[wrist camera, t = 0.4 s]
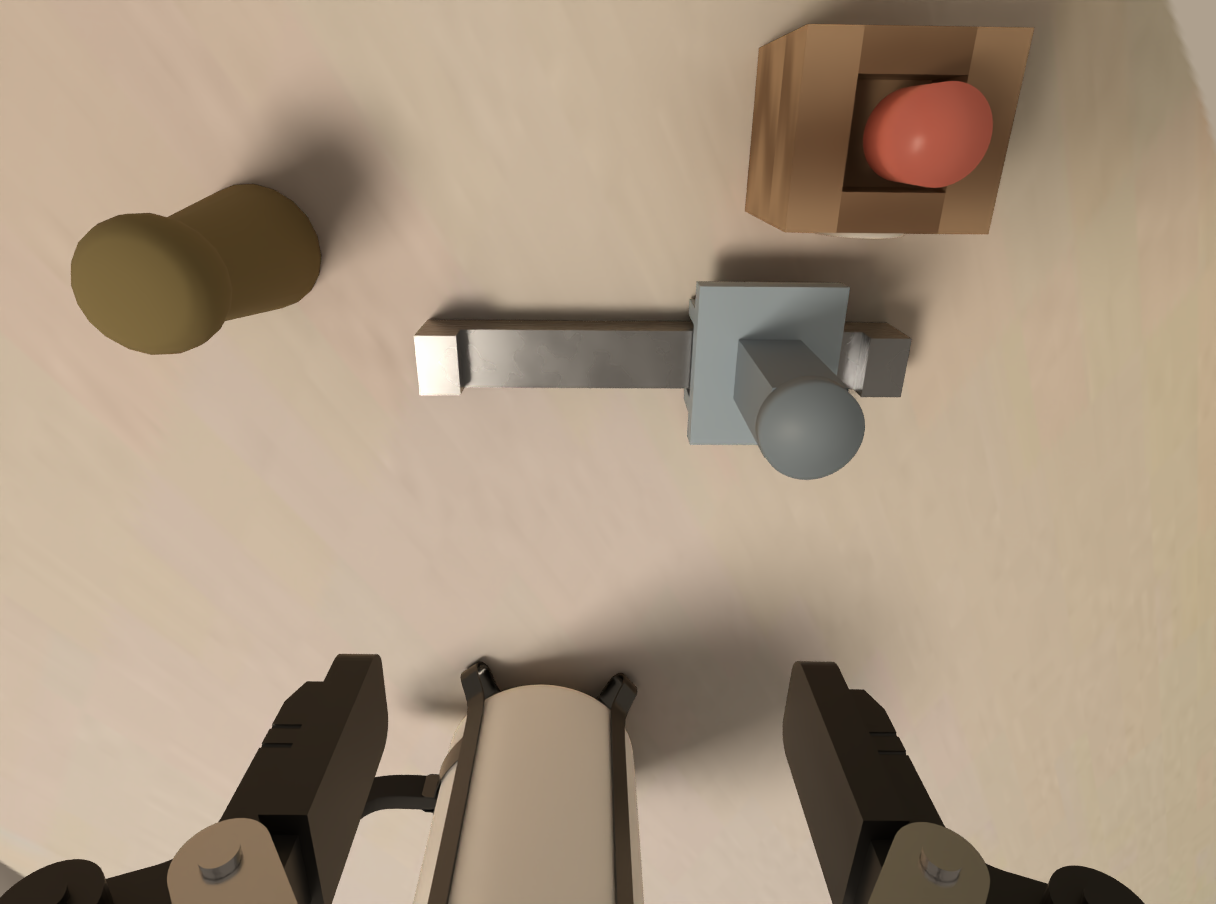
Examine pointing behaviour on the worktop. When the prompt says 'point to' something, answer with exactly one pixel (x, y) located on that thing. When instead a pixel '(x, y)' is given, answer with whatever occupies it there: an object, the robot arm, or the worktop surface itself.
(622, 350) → the rail
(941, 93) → the button
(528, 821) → the coffee press
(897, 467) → the worktop surface
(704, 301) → the carriage
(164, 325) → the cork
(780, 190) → the cabinet
